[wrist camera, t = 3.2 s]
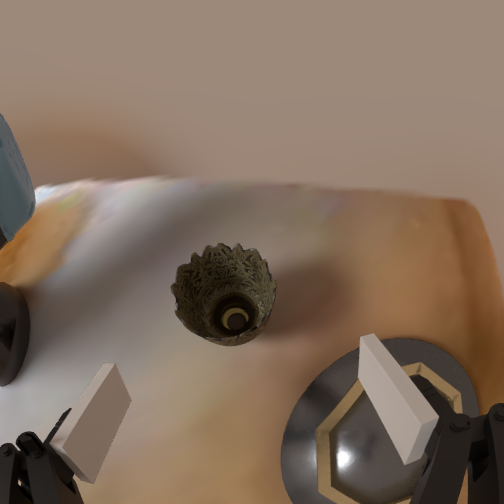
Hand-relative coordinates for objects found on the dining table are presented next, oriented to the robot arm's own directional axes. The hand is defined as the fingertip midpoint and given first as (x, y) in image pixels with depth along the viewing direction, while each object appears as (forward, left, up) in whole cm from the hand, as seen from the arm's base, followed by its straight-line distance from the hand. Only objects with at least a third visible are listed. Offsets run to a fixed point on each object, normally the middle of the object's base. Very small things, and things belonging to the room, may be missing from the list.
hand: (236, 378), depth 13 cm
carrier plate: (+13, +4, -11) cm, 18 cm away
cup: (-6, +4, -11) cm, 13 cm away
